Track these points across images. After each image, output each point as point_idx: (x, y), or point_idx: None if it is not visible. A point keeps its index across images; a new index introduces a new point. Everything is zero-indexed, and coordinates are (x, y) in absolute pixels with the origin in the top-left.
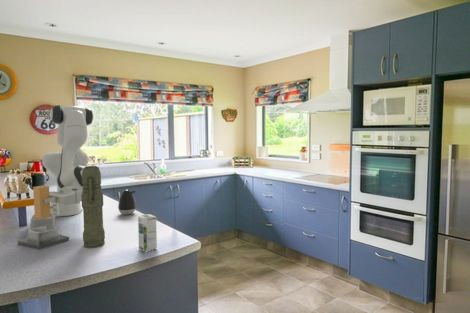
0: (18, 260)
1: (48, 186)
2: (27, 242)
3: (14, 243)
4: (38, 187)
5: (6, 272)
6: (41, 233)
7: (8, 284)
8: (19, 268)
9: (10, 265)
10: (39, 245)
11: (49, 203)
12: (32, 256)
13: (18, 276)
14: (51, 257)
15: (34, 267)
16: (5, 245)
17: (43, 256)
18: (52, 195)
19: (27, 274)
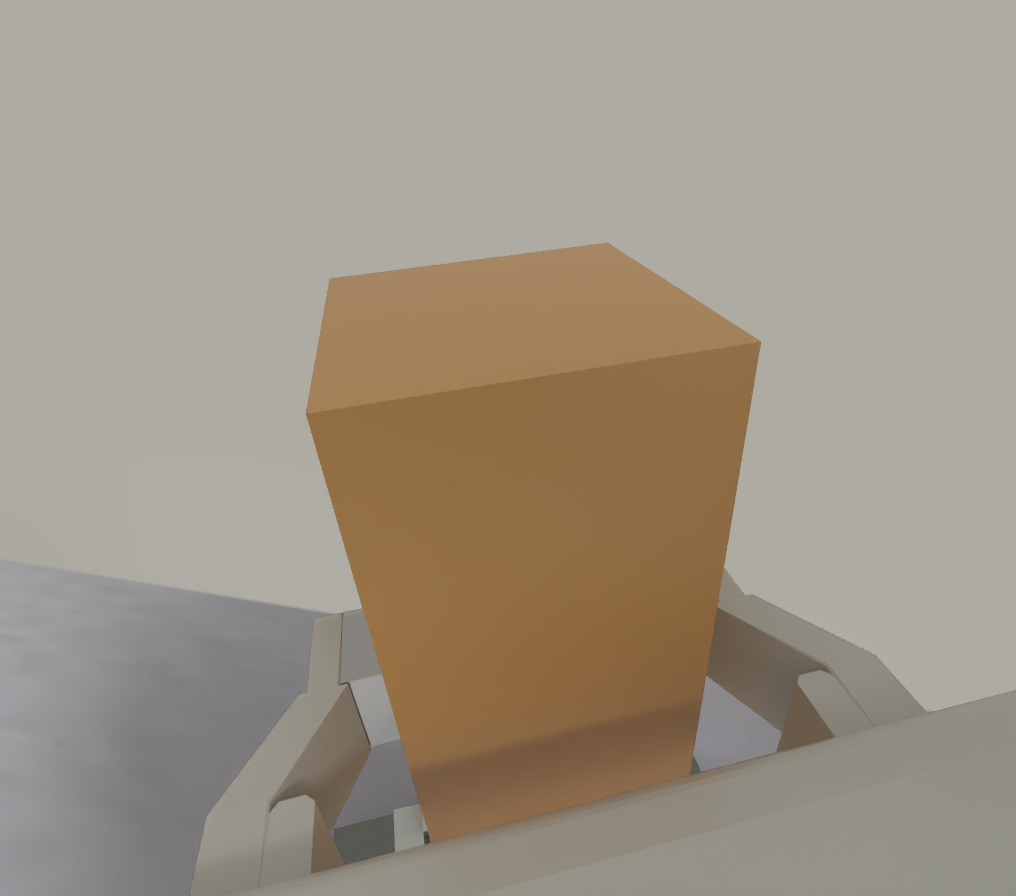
0: (265, 667)
1: (307, 411)
2: None
3: (726, 742)
4: (380, 275)
5: (162, 592)
6: (397, 844)
7: (24, 575)
8: (134, 641)
9: (234, 621)
10: (349, 840)
11: (430, 828)
12: (238, 750)
13: (44, 616)
14: (44, 850)
15: (42, 699)
16: (707, 680)
17: (142, 810)
18: (438, 844)
19: (8, 648)
